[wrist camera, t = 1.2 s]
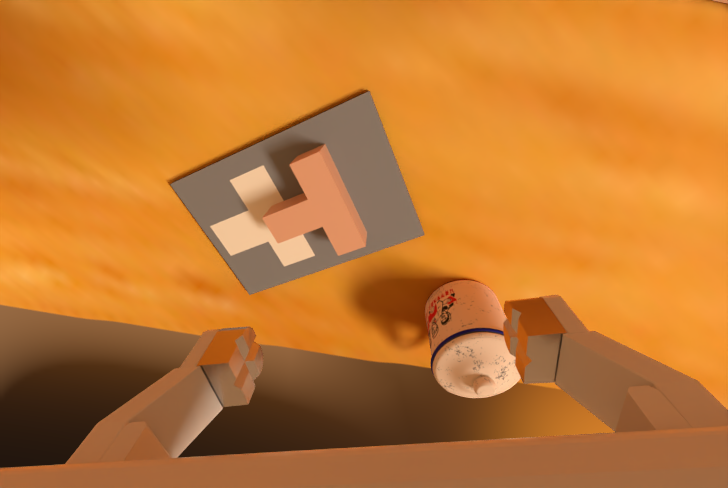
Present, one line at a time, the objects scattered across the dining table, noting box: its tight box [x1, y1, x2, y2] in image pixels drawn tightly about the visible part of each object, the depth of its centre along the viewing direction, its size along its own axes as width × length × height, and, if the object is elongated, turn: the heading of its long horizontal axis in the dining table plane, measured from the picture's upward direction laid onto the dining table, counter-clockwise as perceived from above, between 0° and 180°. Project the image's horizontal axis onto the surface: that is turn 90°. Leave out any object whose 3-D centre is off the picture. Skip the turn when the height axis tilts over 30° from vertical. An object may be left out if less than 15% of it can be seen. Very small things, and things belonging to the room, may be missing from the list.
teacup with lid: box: [425, 280, 521, 398], centre depth 36 cm, size 12×9×12 cm
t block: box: [262, 144, 367, 256], centre depth 33 cm, size 8×10×3 cm
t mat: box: [170, 91, 424, 295], centre depth 35 cm, size 22×15×1 cm
